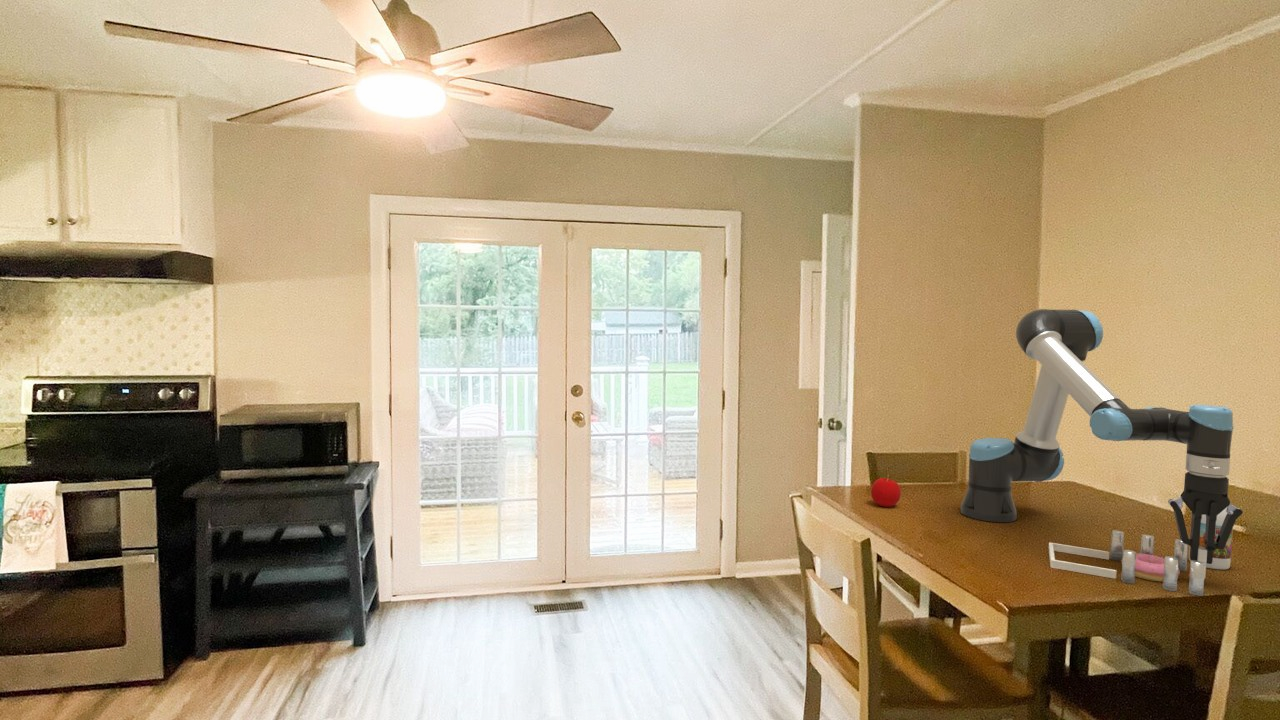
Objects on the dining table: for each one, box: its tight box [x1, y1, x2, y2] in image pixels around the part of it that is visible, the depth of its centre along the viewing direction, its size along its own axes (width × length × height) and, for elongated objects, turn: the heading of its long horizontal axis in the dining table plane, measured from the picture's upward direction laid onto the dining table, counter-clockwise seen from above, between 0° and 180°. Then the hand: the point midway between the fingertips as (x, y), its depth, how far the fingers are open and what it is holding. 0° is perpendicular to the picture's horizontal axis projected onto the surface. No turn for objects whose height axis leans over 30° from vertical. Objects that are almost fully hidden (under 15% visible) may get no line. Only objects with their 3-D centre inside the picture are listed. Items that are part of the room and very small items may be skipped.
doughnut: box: [1120, 552, 1181, 583], centre depth 154 cm, size 11×11×4 cm
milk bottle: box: [1188, 508, 1234, 571], centre depth 161 cm, size 8×8×20 cm
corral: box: [1048, 542, 1117, 579], centre depth 161 cm, size 13×16×2 cm
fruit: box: [870, 474, 902, 508], centre depth 210 cm, size 9×9×10 cm
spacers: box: [1109, 529, 1205, 597], centre depth 154 cm, size 15×19×7 cm
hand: (1199, 576), depth 150 cm, fingers closed
